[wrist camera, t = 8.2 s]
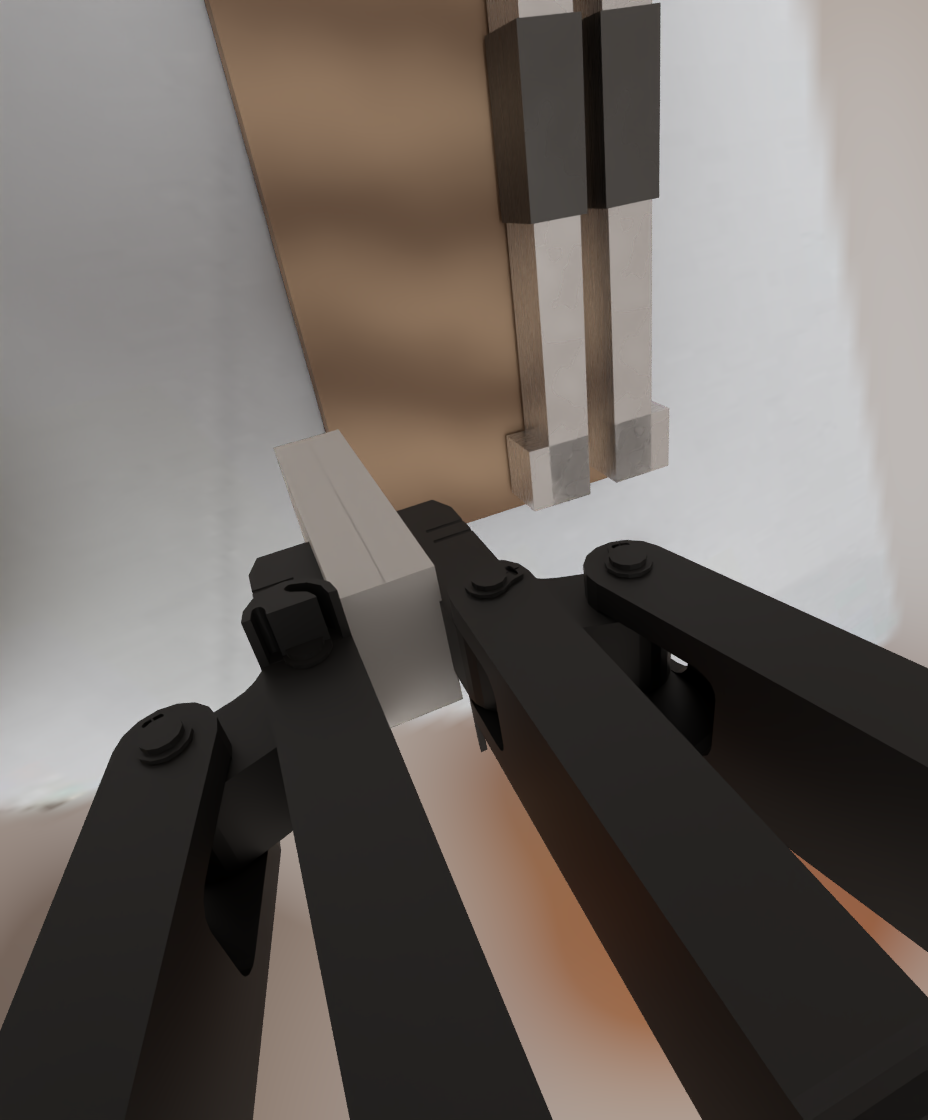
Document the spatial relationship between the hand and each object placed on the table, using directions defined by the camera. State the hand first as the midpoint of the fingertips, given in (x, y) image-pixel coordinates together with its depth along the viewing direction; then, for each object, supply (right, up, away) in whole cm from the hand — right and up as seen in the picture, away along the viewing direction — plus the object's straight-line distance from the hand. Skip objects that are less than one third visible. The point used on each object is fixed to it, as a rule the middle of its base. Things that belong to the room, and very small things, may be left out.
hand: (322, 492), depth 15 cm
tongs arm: (+7, +14, +11) cm, 19 cm away
